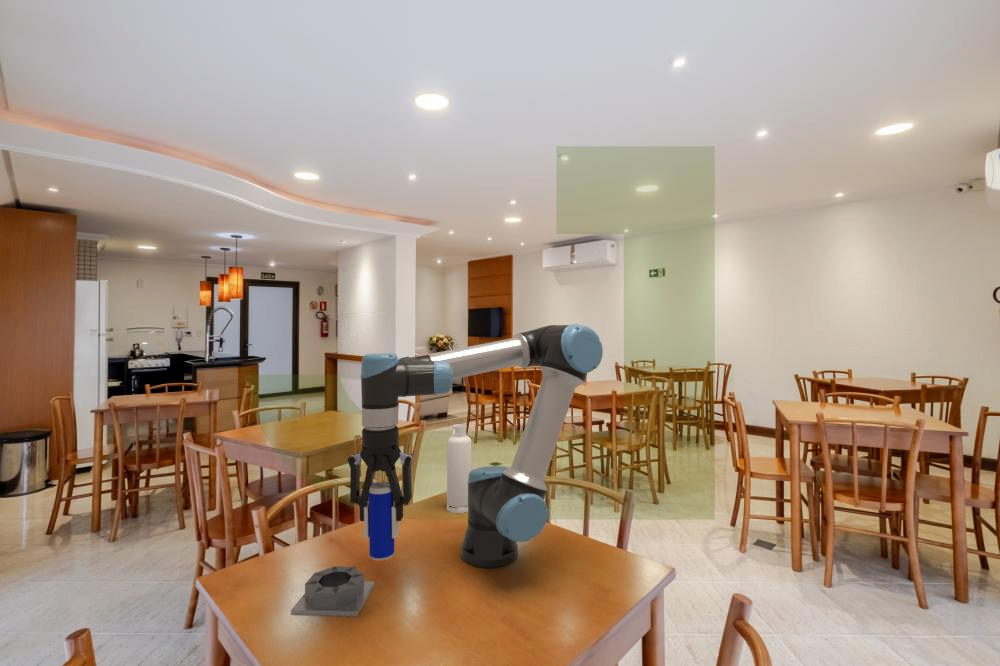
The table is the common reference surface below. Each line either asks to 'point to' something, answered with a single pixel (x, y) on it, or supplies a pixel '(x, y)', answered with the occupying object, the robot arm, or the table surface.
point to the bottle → (458, 469)
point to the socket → (334, 593)
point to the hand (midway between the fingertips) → (381, 535)
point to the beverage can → (380, 521)
